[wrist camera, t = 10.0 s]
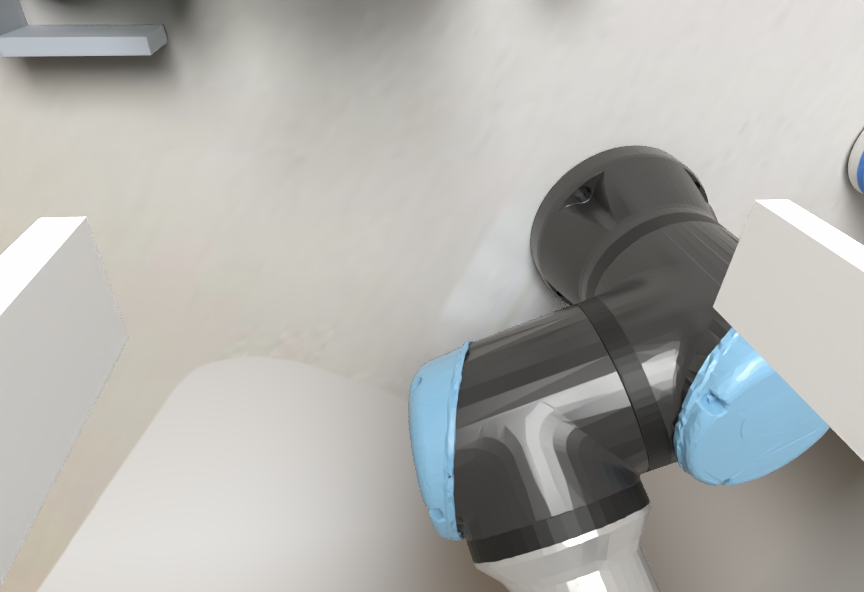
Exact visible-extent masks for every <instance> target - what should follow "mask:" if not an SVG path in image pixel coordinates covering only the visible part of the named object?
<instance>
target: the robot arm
mask: <svg viewBox="0 0 864 592" xmlns="http://www.w3.org/2000/svg"><path fill="white" fill-rule="evenodd" d="M531 252H532V257H533V260H534V263H535V265H536V268H537V270H538V271H539V273H540V275H541V277H542V278H543V280H544V282H545V283H546V285H547V286H548V288H549V289H550V290H551V291H552V292H553V293H554V294H555V295H556V296H557V297H559V298H560V299H561V300H563V301H564V302H566V303H568V304H570V305H571V306H568V307H566V308H563V309H561V310H558V311H555V312H553V313H550V314H547V315H545V316H542V317H539V318H537V319H534V320H531V321H529V322H526V323H524V324H521V325H518V326H516V327H513V328H510V329H508V330H505V331H502V332H500V333H497V334H494V335H492V336H489V337H486V338H484V339H481V340H478V341H476V342H474V341H473V340H471V341H467V342H465V343H464V344H463V345H462V347H461V348H458V349H456V350H454V351H452V352H449V353H447V354H445V355H442V356H440V357H438V358H436V359H433V360H431V361H429V362H427V363H426V364H424V365H423V366H422V367H421V368H420V369H419V370H418V371H417V373H416V374H415V376H414V378H413V381H412V383H411V387H410V394H409V430H410V439H411V447H412V453H413V459H414V465H415V469H416V474H417V478H418V483H419V487H420V491H421V494H422V498H423V501H424V503H425V505H426V506H427V507H428V510H429V514H430V519H431V522H432V524H433V526H434V528H435V530H436V531H437V533H438V534H439V535H440V536H441V537H442V538H444V539H446V540H454V541H460V540H462V539H464V538H465V539H466V540H467V543H468V547H469V550H470V553H471V556H472V559H473V562H474V565H475V567H476V568H477V569H478V570H480V571H482V572H484V573H485V574H487V575H489V576H491V577H493V578H494V579H496V580H498V581H500V582H501V583H502V584H503V585H504V586H505V587H506V588H507V589H508V590H509V592H661V590H660V587H659V585H658V582H657V580H656V578H655V576H654V573H653V571H652V568H651V566H650V564H649V561H648V559H647V557H646V554H645V552H644V550H643V547H642V545H641V539H642V533H643V530H644V527H645V525H646V522H647V520H648V517H649V514H650V511H651V509H652V505H651V503H650V500H649V498H648V496H647V493H646V491H645V489H644V487H643V485H642V482H641V480H640V474H643V473H645V472H648V471H651V470H654V469H657V468H660V467H662V466H666V465H668V464H671V463H674V462H678V464H679V465H680V467H682V468H683V470H684V471H685V472H687V473H688V474H691V475H692V476H693V477H694V478H695V479H697V480H699V481H700V482H703V483H705V484H708V485H718V484H719V483H721V484H722V485H727V486H729V485H737V484H742V483H746V482H749V481H752V480H755V479H758V478H760V477H762V476H765V475H767V474H769V473H771V472H773V471H775V470H777V469H779V468H780V467H782V466H784V465H786V464H787V463H789V462H791V461H792V460H794V459H795V458H796V457H798V456H799V455H800V454H802V453H803V452H805V451H806V450H807V449H808V448H809V447H810V446H812V445H813V444H814V443H815V442H816V441H817V440H819V439H820V438H821V437H822V435H824V434H825V432H826V431H827V430H828V429H829V428H830V427H831V428H832V429H833V430H834V431H835V432H836V433H837V434H838V435H839V436H840V437H841V438H842V439H843V440H844V441H845V443H847V445H848V446H849V447H850V448H851V449H852V450H853V451H854V452H855V453H856V454H857V455H858V456H859V457H860V458H861V459H862V460H863V461H864V245H862V244H860V243H859V242H857V241H855V240H854V239H852V238H851V237H849V236H847V235H846V234H844V233H842V232H841V231H839V230H837V229H836V228H834V227H832V226H831V225H829V224H828V223H826V222H824V221H823V220H821V219H819V218H818V217H816V216H814V215H813V214H811V213H810V212H808V211H806V210H805V209H803V208H801V207H800V206H798V205H796V204H795V203H793V202H791V201H790V200H788V199H783V200H755V202H754V205H753V207H752V210H751V212H750V215H749V217H748V220H747V222H746V225H745V227H744V230H743V232H742V235H741V237H740V240H739V239H738V238H737V237H735V236H734V235H733V234H732V233H730V232H729V231H728V230H727V229H725V228H724V227H723V226H722V225H720V224H719V223H718V221H717V218H716V216H715V214H714V212H713V209H712V208H711V206H710V205H709V203H708V199H707V196H706V193H705V190H704V188H703V186H702V184H701V182H700V181H699V179H698V178H697V177H696V175H695V174H694V173H693V172H692V171H691V170H690V169H689V168H688V167H686V166H685V165H684V164H682V163H681V162H680V161H678V160H677V159H676V158H674V157H673V156H671V155H670V154H668V153H666V152H664V151H662V150H659V149H656V148H652V147H646V146H625V147H619V148H614V149H610V150H607V151H604V152H601V153H599V154H596V155H594V156H592V157H590V158H588V159H586V160H584V161H583V162H581V163H580V164H578V165H577V166H575V167H574V168H572V169H571V170H570V171H569V172H567V173H566V174H565V175H564V176H563V177H562V178H561V179H560V180H559V181H558V182H557V183H556V184H555V185H554V186H553V188H552V189H551V190H550V191H549V193H548V194H547V196H546V197H545V199H544V200H543V202H542V204H541V206H540V208H539V210H538V212H537V214H536V217H535V220H534V223H533V227H532V233H531ZM127 340H128V335H127V332H126V330H125V327H124V324H123V321H122V318H121V315H120V312H119V309H118V307H117V304H116V301H115V298H114V295H113V292H112V289H111V286H110V284H109V281H108V278H107V275H106V272H105V269H104V266H103V263H102V261H101V258H100V255H99V252H98V249H97V246H96V243H95V240H94V238H93V235H92V232H91V229H90V226H89V223H88V220H87V217H56V218H39V219H38V220H37V221H36V222H35V223H34V224H33V225H32V226H31V227H30V228H29V229H28V230H27V231H26V232H25V233H23V234H22V235H21V236H20V237H19V238H18V239H17V240H16V241H15V242H14V243H13V244H12V245H11V246H10V247H9V248H8V249H7V250H6V251H5V252H4V253H3V254H2V255H1V256H0V587H1V585H2V583H3V581H4V579H5V578H6V576H7V574H8V572H9V570H10V568H11V566H12V564H13V562H14V560H15V558H16V556H17V554H18V552H19V550H20V548H21V546H22V544H23V543H24V541H25V539H26V537H27V535H28V533H29V531H30V529H31V527H32V525H33V523H34V521H35V519H36V517H37V515H38V513H39V511H40V509H41V508H42V506H43V504H44V502H45V500H46V498H47V496H48V494H49V492H50V490H51V488H52V486H53V484H54V482H55V480H56V478H57V476H58V474H59V473H60V471H61V469H62V467H63V465H64V463H65V461H66V459H67V457H68V455H69V453H70V451H71V449H72V447H73V445H74V443H75V441H76V439H77V438H78V436H79V434H80V432H81V430H82V428H83V426H84V424H85V422H86V420H87V418H88V416H89V414H90V412H91V410H92V408H93V406H94V404H95V403H96V401H97V399H98V397H99V395H100V393H101V391H102V389H103V387H104V385H105V383H106V381H107V379H108V377H109V375H110V373H111V371H112V369H113V368H114V366H115V364H116V362H117V360H118V358H119V356H120V354H121V352H122V350H123V348H124V346H125V344H126V342H127Z"/></svg>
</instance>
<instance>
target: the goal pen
mask: <svg viewBox="0 0 864 592" xmlns="http://www.w3.org/2000/svg"><path fill="white" fill-rule="evenodd" d="M167 42H168V41H167V37H166V33H165V28H164V25H27V22H26V20H25V17H24V14H23V11H22V9H21V6H20V3H19V1H18V0H0V57H20V56H127V55H152V54H153V53H155V52H156V51H157V50H158V49H160V48H161V47H162V46H163V45H165V44H166V43H167Z"/></svg>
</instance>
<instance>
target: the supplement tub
mask: <svg viewBox="0 0 864 592" xmlns="http://www.w3.org/2000/svg"><path fill="white" fill-rule="evenodd" d="M848 175H849V179H850V181H851V184H852V185H853V187H854V188H855V189H856V190H857V191H858V192H860V193H862V194H863V195H864V130H863V131H862V133H861V134H860V136H859V137H858V139H857V141H856V143H855V144H854V146H853V149H852V151H851V154H850V158H849V163H848Z"/></svg>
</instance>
